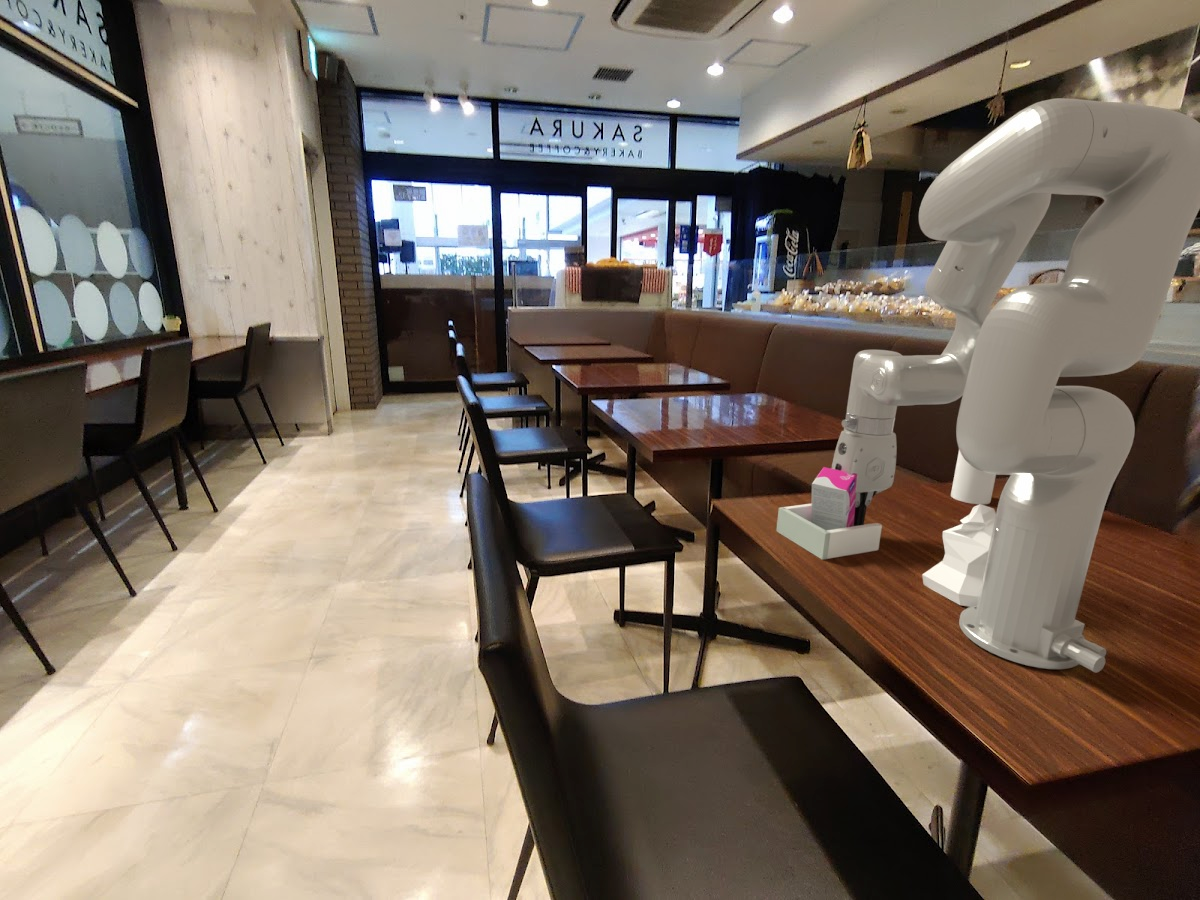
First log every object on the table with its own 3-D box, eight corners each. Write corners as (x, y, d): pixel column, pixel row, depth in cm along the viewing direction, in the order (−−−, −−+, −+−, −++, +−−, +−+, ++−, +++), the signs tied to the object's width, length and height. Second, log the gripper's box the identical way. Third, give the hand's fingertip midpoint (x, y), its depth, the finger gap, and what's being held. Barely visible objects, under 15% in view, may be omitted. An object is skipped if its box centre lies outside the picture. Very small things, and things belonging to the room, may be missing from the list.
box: (878, 550, 97) (882, 525, 96) (822, 559, 93) (825, 533, 92) (828, 523, 108) (831, 500, 107) (776, 531, 104) (778, 507, 103)
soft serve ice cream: (991, 638, 75) (979, 539, 72) (908, 590, 90) (895, 506, 86) (1071, 606, 77) (1063, 508, 74) (978, 564, 91) (967, 481, 88)
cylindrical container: (998, 504, 119) (1023, 383, 112) (963, 504, 119) (986, 382, 112) (977, 493, 126) (999, 377, 119) (943, 492, 126) (964, 377, 119)
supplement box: (844, 546, 98) (846, 491, 92) (809, 537, 101) (809, 483, 96) (855, 527, 102) (857, 472, 96) (821, 518, 105) (821, 465, 100)
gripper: (848, 433, 92) (833, 538, 97) (921, 427, 97) (902, 528, 102) (817, 421, 99) (804, 521, 104) (886, 416, 104) (871, 511, 109)
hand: (853, 524), depth 103 cm, fingers closed
